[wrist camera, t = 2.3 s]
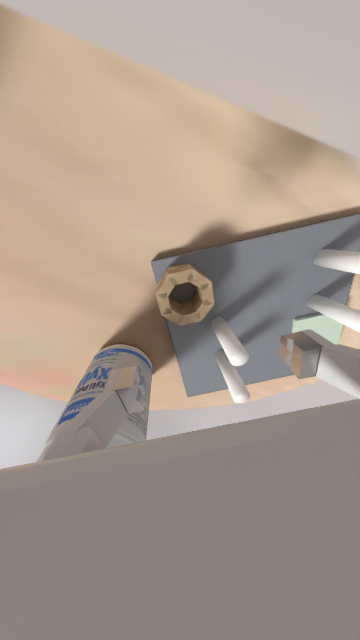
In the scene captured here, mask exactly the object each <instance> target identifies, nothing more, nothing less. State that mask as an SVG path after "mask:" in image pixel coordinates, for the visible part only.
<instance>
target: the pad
mask: <svg viewBox="0 0 360 640" xmlns="http://www.w3.org/2000/svg"><path fill="white" fill-rule="evenodd" d="M343 325H344V324H342V323H340V322H338V321H336V320H334V319H332V318H330V317H328V316H326V315H324V314H322V313H319V314H315V315H310V316H306V317H301V318H297V319H293V328H292V333H295V332H299V331H303V330H307V329H310V330H313V331H314V332H316V333H317V334H319V335H321V336H322V337H324V338H325V339H327V340H328V341H330V342H332V343H333V344H335V345H337V344H339V340H340V336H341V333H342V329H343Z"/></svg>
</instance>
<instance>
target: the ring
mask: <svg viewBox="0 0 360 640" xmlns="http://www.w3.org/2000/svg"><path fill="white" fill-rule="evenodd" d="M186 282H191V283H192V284H194V285H195V286H196V289H197V292H196V293H195V295H194V296H193V298H192V299H191V300H190V301H186V302H182V303H179V302H177V301H175V300H173V299H172V298H170V296H169V294H170V293H171V291H172V289H173V288H174V286H175V285H177V284H182V283H186ZM156 298H157V302H158V305H159V309H160V312H161V315H162V316H163V317H165V318H166V319H168V320H170V321H172V322H174V323H176V324H178V325H179V326H182V325H186V324H191V323H195V322H200V321H202V319H203V318H204V317H205V316H206V314H207V313H208V312H209V310H210V309H211V308H212V306H213V305H214V297H213V288H212V282H211V281H210V280H209V279H208V278H207V277H206V276H205V275H204V274H203V273H201V272H200V271H198V270H197V269H196V268H194V267H193V266H191V265H190V264H188V263H185V264H181V265H176V266H172V267H168V268H167V269H166V271H165V272H164V274H163V276H162V277H161V279H160V281H159V282H158V284H157V289H156Z"/></svg>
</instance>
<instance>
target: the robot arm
mask: <svg viewBox="0 0 360 640" xmlns="http://www.w3.org/2000/svg"><path fill="white" fill-rule="evenodd" d="M280 343H281V344H282V345H281V346H280V348H279V355H280V358H281V360H282V361H283V362H284V363H285V364H286V365H288V366H291V371H292V372H293V373H294V374H295V375H296V376H297V377H298V378H299V379H302V378H308V377H314V376H316V377H317V378H319V379H321V380H323V381H325V382H327V383H329V384H331V385H333V386H335V387H337V388H339V389H341V390H343V391H345V392H347V393H349V394H351V395H353V396H355V397H357V398H359V399H356V400H351V401H345V402H340V403H335V404H330V405H325V406H320V407H315V408H309V409H305V410H299V411H295V412H289V413H284V414H279V415H274V416H269V417H264V418H259V419H254V420H249V421H243V422H239V423H233V424H228V425H223V426H218V427H213V428H208V429H202V430H197V431H192V432H187V433H182V434H178V435H172V436H167V437H162V438H157V439H151V440H146V441H141V442H136V443H131V444H126V445H121V446H116V447H111V448H106V447H107V446H108V444H109V443H110V441H111V440H112V439H113V437H114V436H115V434H116V433H117V431H118V430H119V428H120V427H121V425H122V424H123V422H124V421H125V419H126V418H127V416H128V414H131V413H135V412H139V411H143V410H144V403H145V398H144V395H145V394H146V381H145V378H144V376H143V375H141V371H142V370H141V368H140V366H133V367H127V368H122V369H117V370H113V371H112V372H111V374H110V377H109V379H108V381H107V384H106V386H105V389H104V391H103V393H100V394H99V395H98V396H97V397H96V398H95V399H94V400H93V401H91V402H90V403H89V404H88V405H87V406H86V407H85V408H84V409H83V410H82V411H81V412H80V413H78V414H77V415H76V416H75V417H74V418H73V419H72V420H71V421H70V422H69V423H68V424H67V425H66V426H64V427H63V428H62V429H61V430H60V431H59V432H58V434H57V435H56V437H55V439H54V441H53V443H52V444H51V446H50V448H49V450H48V452H47V453H46V455H45V457H44V459H43V460H42V461H40V462H35V463H30V464H25V465H20V466H14V467H10V468H4V469H0V640H360V350H359V349H355V348H351V347H347V346H343V345H339V344H337V345H335V344H333V343H332V342H330V341H328V340H327V339H325V338H324V337H322V336H321V335H319V334H317V333H316V332H314V331H313V330H310V329H307V330H303V331H299V332H295V333H290V334H286V335H281V337H280Z"/></svg>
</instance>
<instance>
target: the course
mask: <svg viewBox="0 0 360 640" xmlns="http://www.w3.org/2000/svg"><path fill="white" fill-rule="evenodd" d="M185 263H188V264H190V265H191V266H193V267H194V268H196V269H197V270H198V271H200V272H201V273H203V274H204V275H205V276H206V277H207V278H208V279H209V280H210V281H211V282H212V288H213V297H214V305H213V306H212V308H211V309H210V310H209V312H208V313H207V314H206V316H205V317H204V318H203V319H202V321H200V322H195V323H191V324H186V325H182V326H179V325H178V324H176V323H174V322H172V321H170V320H168V319H166V320H167V323H168V327H169V331H170V334H171V338H172V342H173V345H174V349H175V353H176V356H177V360H178V364H179V367H180V371H181V375H182V378H183V382H184V386H185V389H186V393H187V397H192V396H197V395H201V394H206V393H211V392H215V391H220V390H225V389H229V391H230V393H231V395H232V398H233V400H234V402H236V403H244V402H246V401H247V400H248V399H249V398H250V394H249V392H248V390H247V388H246V387H245V385H248V384H253V383H258V382H262V381H267V380H272V379H276V378H281V377H286V376H290V375H295V374H294V373H293V372H292V371H291V366H288V365H286V364H285V363H284V362H283V361H282V360H281V358H280V355H279V348H280V346H281V345H282V344H281V343H280V337H281V335H286V334H290V333H292V328H293V319H297V318H301V317H306V316H310V315H315V314H319V313H322V314H324V315H326V316H328V317H330V318H332V319H334V320H336V321H338V322H340V323H342V324H344V325H346V326H348V327H350V328H352V329H354V330H356V331H358V332H360V311H359V310H356V309H354V308H351V307H349V306H346V304H347V300H348V296H349V292H350V288H351V285H352V281H353V277H354V273H356V274H360V213H358V214H354V215H349V216H345V217H341V218H336V219H332V220H328V221H323V222H319V223H315V224H310V225H306V226H302V227H297V228H293V229H288V230H284V231H280V232H275V233H271V234H267V235H262V236H258V237H254V238H249V239H245V240H240V241H236V242H232V243H227V244H223V245H219V246H214V247H210V248H206V249H201V250H197V251H193V252H188V253H184V254H179V255H175V256H171V257H166V258H162V259H158V260H153V261H151V265H152V268H153V272H154V276H155V279H156V283H157V284H158V282H159V281H160V279H161V277H162V276H163V274H164V272H165V271H166V269H167V268H168V267H172V266H176V265H181V264H185ZM196 292H197V289H196V286H195V285H194V284H192V283H191V282H186V283H182V284H177V285H175V286H174V288H173V289H172V291H171V293H170V294H169V296H170V298H172V299H173V300H175V301H177V302H179V303H182V302H186V301H190V300H191V299H192V298H193V296H194V295H195V293H196Z"/></svg>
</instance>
